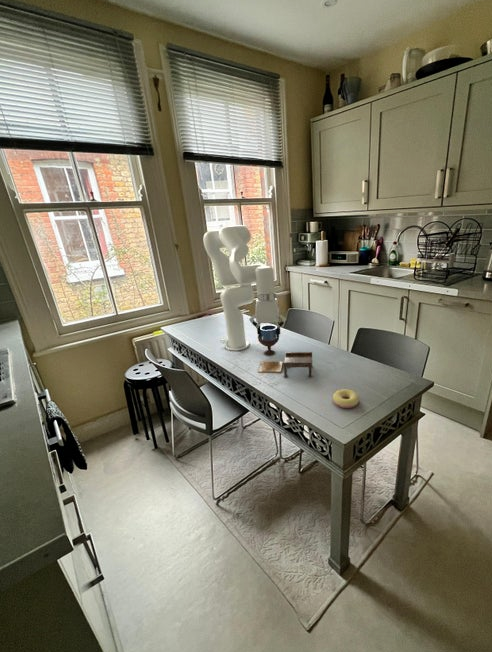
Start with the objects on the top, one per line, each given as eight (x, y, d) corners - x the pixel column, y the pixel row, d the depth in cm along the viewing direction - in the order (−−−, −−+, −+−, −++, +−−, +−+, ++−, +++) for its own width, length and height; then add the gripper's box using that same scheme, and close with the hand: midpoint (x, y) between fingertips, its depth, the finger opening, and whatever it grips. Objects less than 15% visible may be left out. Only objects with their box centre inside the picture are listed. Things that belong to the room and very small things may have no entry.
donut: (357, 401, 121) (333, 395, 123) (360, 390, 120) (336, 385, 122) (356, 412, 112) (330, 406, 114) (359, 401, 111) (332, 394, 113)
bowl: (259, 341, 138) (258, 330, 136) (262, 335, 144) (261, 325, 142) (276, 341, 137) (275, 330, 135) (278, 335, 143) (277, 324, 141)
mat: (258, 372, 143) (258, 371, 142) (262, 362, 152) (262, 361, 151) (280, 372, 142) (280, 371, 141) (282, 362, 151) (282, 361, 150)
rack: (284, 377, 137) (283, 362, 134) (286, 366, 147) (285, 352, 144) (311, 377, 136) (311, 362, 133) (312, 366, 146) (312, 352, 143)
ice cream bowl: (278, 358, 156) (276, 329, 149) (256, 357, 158) (253, 328, 152) (282, 349, 165) (280, 322, 159) (261, 348, 167) (259, 321, 161)
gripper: (287, 294, 135) (289, 332, 143) (247, 295, 137) (251, 333, 144) (285, 298, 129) (287, 338, 136) (244, 299, 130) (248, 339, 138)
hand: (269, 335), depth 140 cm, fingers closed on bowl, 7 cm apart
